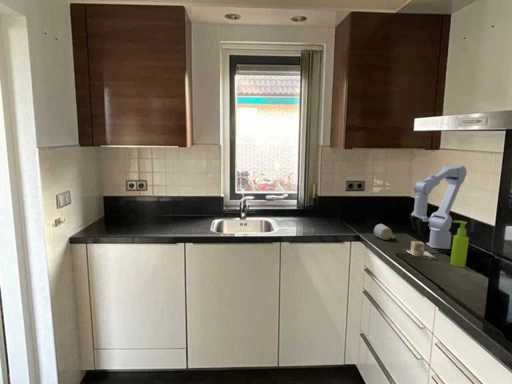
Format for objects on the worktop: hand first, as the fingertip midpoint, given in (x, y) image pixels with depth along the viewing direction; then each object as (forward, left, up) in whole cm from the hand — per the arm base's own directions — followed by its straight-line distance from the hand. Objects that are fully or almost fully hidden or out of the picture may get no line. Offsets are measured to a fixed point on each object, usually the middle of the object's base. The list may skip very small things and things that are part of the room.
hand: (418, 232), depth 171 cm
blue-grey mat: (+2, +8, -9) cm, 13 cm away
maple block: (+3, +8, -9) cm, 13 cm away
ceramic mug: (+10, -19, -10) cm, 24 cm away
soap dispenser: (-11, +19, -10) cm, 24 cm away
